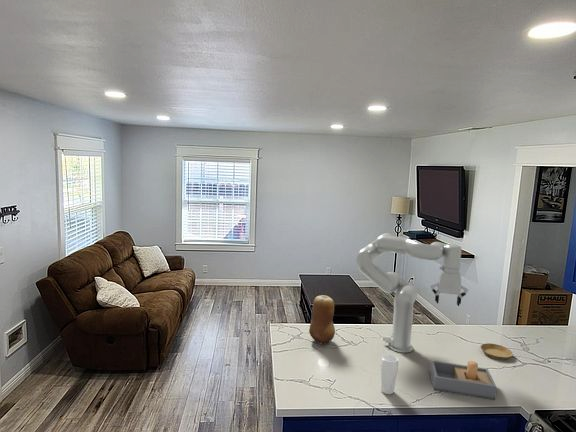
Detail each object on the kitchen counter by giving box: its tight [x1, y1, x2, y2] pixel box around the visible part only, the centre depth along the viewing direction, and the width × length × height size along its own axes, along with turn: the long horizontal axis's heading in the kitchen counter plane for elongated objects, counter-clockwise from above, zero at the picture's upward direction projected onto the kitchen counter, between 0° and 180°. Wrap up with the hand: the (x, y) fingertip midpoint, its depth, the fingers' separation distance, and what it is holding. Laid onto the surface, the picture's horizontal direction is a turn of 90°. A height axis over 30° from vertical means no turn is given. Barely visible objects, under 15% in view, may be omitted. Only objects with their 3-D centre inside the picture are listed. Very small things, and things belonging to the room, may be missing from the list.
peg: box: [466, 360, 479, 380], centre depth 173 cm, size 4×4×10 cm
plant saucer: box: [480, 342, 513, 360], centre depth 205 cm, size 15×15×3 cm
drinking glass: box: [380, 353, 399, 395], centre depth 167 cm, size 7×7×15 cm
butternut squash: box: [308, 294, 336, 345], centre depth 209 cm, size 14×13×25 cm
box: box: [429, 360, 497, 401], centre depth 174 cm, size 24×15×6 cm, turn 76°
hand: (447, 303), depth 195 cm, fingers open, 9 cm apart
